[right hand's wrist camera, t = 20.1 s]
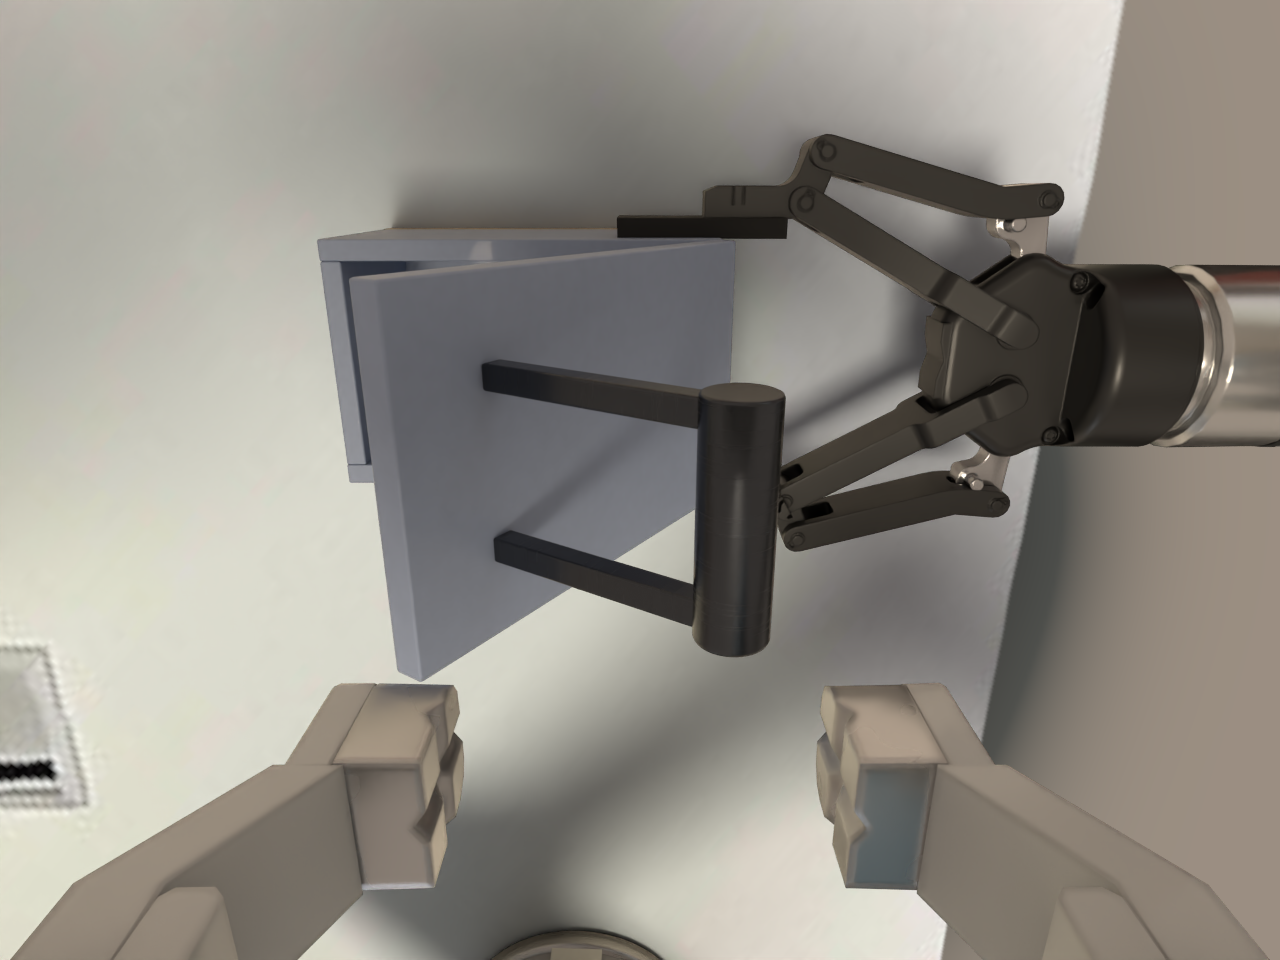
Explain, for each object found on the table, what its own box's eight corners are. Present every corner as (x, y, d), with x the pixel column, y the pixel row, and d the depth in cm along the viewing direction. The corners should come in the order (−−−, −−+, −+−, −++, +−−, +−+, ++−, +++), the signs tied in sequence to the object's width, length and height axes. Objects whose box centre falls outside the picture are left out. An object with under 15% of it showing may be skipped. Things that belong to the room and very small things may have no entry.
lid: (396, 672, 20) (691, 812, 15) (346, 277, 17) (706, 309, 12) (706, 485, 32) (919, 533, 28) (714, 239, 29) (957, 248, 25)
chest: (410, 422, 41) (349, 483, 33) (390, 228, 38) (315, 239, 29) (700, 422, 41) (715, 483, 33) (706, 228, 38) (724, 239, 29)
